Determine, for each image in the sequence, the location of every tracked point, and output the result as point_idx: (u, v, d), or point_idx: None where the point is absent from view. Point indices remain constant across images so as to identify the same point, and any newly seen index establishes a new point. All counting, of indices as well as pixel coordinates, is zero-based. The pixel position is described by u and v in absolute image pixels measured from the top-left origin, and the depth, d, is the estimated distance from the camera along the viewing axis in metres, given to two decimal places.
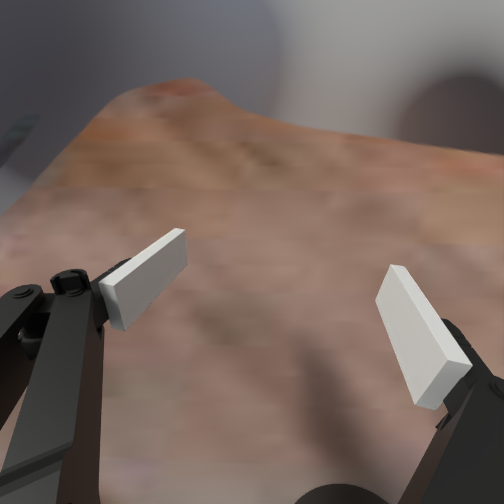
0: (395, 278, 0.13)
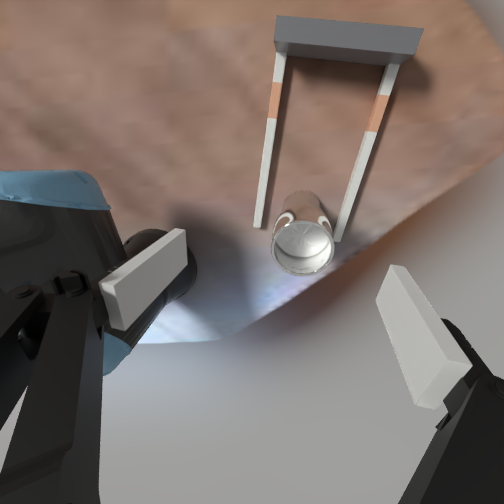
0: (395, 278, 0.13)
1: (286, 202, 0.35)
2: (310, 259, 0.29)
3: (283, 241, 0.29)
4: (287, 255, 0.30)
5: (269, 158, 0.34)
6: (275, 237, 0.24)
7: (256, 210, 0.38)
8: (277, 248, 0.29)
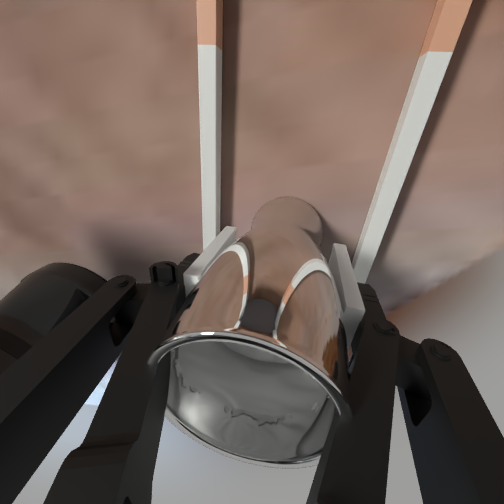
0: (334, 253, 0.15)
1: (254, 221, 0.18)
2: (291, 374, 0.11)
3: None
4: (238, 356, 0.12)
5: (213, 135, 0.17)
6: None
7: (204, 235, 0.21)
8: (208, 345, 0.12)
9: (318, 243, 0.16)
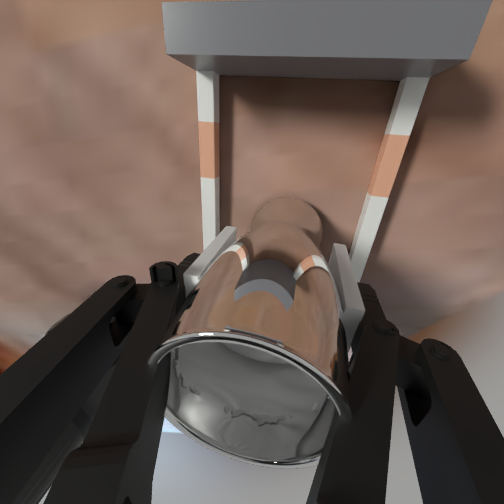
0: (334, 253, 0.15)
1: (254, 221, 0.18)
2: (291, 374, 0.11)
3: None
4: (238, 356, 0.12)
5: (213, 235, 0.21)
6: None
7: None
8: (208, 346, 0.12)
9: (318, 243, 0.16)
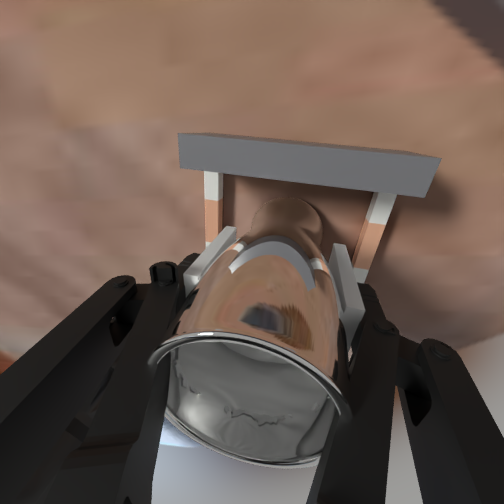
0: (334, 253, 0.15)
1: (254, 221, 0.18)
2: (291, 374, 0.11)
3: None
4: (238, 356, 0.12)
5: None
6: None
7: None
8: (208, 345, 0.12)
9: (318, 243, 0.16)
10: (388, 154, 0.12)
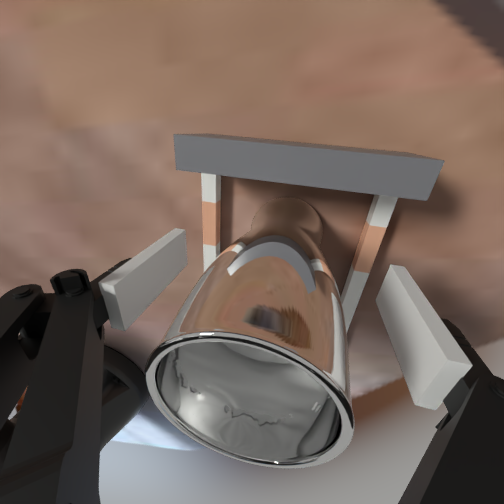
0: (395, 278, 0.13)
1: (254, 221, 0.18)
2: (291, 374, 0.11)
3: None
4: (238, 356, 0.12)
5: None
6: (149, 370, 0.07)
7: None
8: (209, 345, 0.12)
9: (318, 243, 0.16)
10: (390, 156, 0.12)
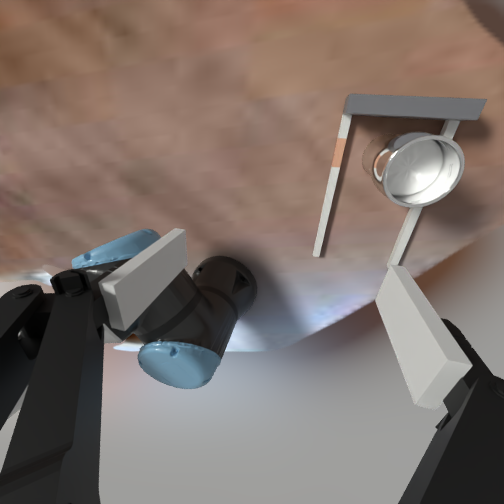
0: (395, 278, 0.13)
1: (371, 147, 0.33)
2: (415, 195, 0.26)
3: None
4: None
5: (331, 199, 0.38)
6: (390, 161, 0.22)
7: (316, 242, 0.42)
8: (377, 185, 0.26)
9: None
10: (461, 98, 0.26)
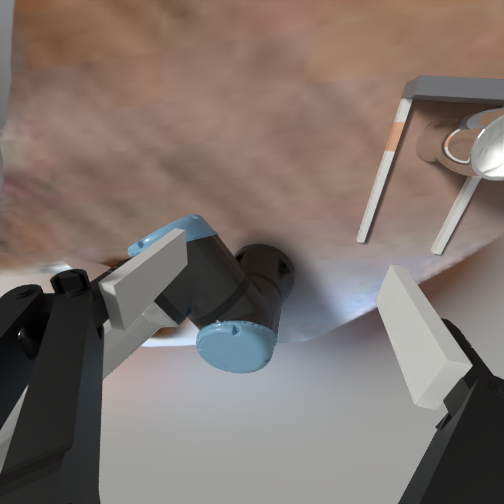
0: (395, 278, 0.13)
1: (430, 130, 0.34)
2: (490, 172, 0.27)
3: None
4: None
5: (382, 184, 0.39)
6: (482, 133, 0.23)
7: (362, 227, 0.43)
8: (452, 162, 0.27)
9: None
10: None
